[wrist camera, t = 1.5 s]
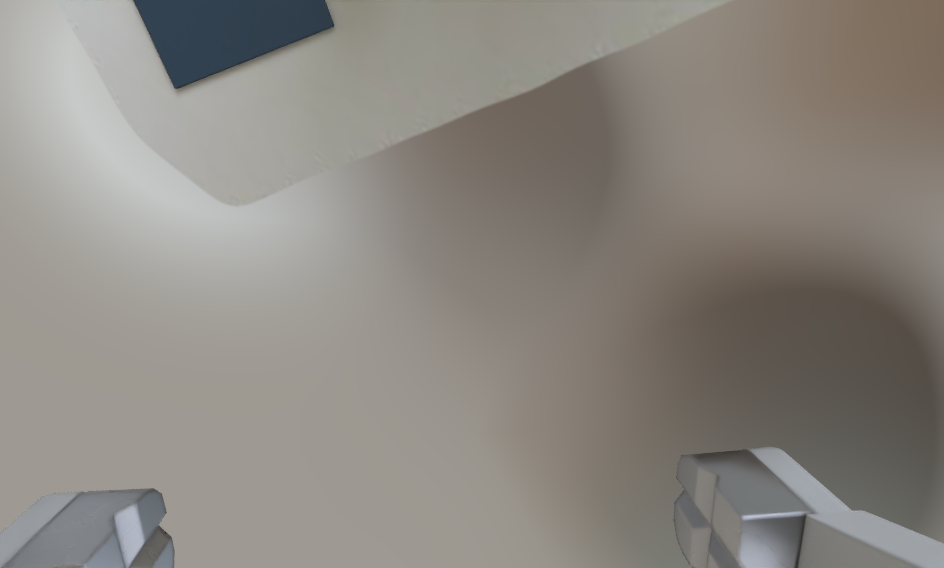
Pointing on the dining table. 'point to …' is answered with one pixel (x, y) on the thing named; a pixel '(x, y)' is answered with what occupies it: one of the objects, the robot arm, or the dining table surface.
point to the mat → (225, 31)
